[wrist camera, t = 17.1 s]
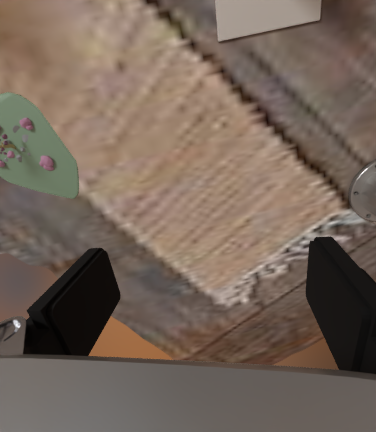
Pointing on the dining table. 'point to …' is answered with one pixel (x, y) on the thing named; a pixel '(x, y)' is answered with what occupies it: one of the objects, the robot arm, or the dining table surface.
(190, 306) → the dining table surface
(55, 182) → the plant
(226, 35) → the paper sheet
